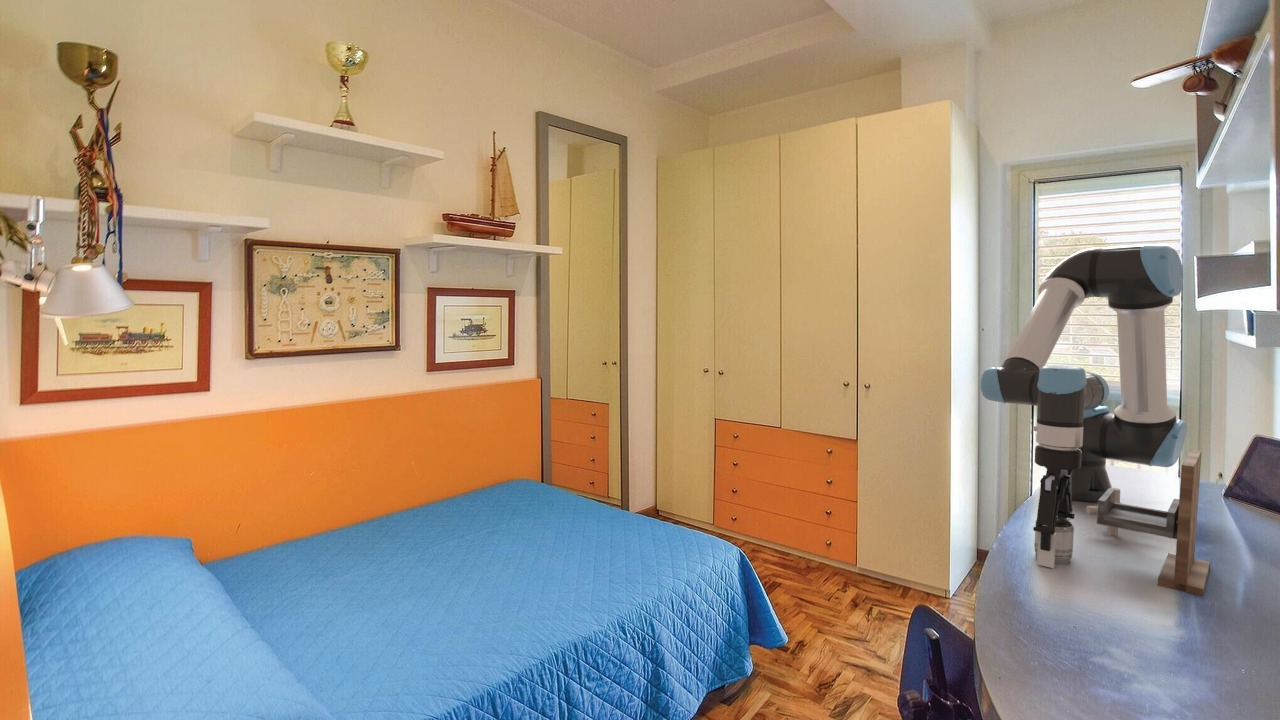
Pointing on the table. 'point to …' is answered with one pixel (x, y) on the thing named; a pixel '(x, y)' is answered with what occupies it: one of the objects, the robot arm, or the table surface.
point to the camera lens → (1061, 541)
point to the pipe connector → (1094, 511)
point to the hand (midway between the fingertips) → (1052, 557)
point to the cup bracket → (1167, 528)
